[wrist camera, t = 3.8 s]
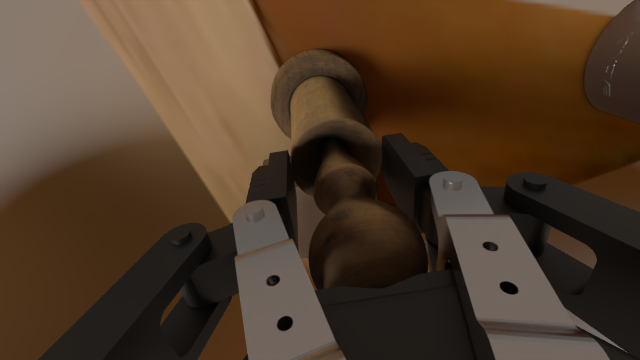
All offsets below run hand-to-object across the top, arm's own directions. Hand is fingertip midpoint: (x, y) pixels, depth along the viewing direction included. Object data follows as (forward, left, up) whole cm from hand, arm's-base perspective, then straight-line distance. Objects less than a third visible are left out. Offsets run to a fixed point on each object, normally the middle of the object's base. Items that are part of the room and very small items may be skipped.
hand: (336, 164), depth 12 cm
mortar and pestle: (0, 0, -11) cm, 11 cm away
